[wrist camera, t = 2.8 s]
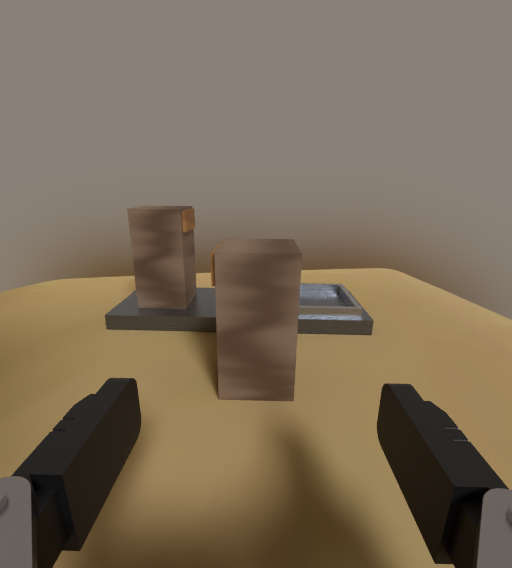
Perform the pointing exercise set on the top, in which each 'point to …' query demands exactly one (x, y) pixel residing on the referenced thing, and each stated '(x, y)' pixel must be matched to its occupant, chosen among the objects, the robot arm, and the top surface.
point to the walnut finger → (256, 317)
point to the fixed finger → (163, 255)
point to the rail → (202, 313)
